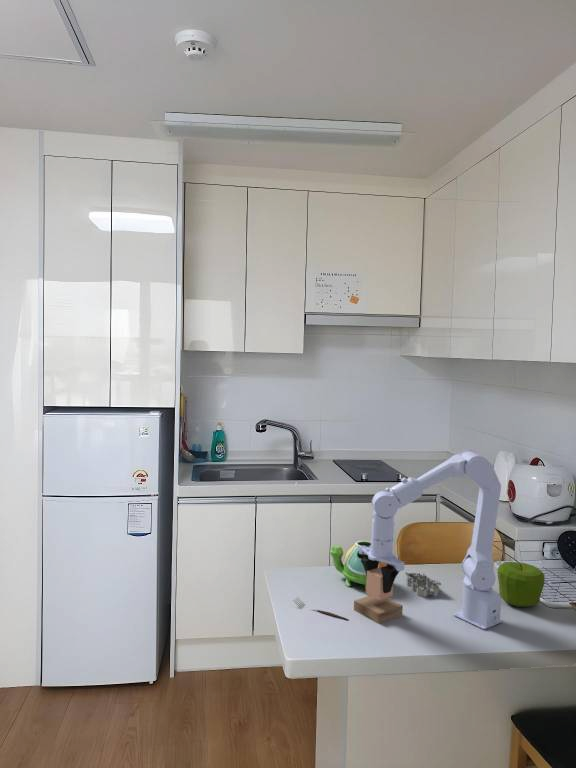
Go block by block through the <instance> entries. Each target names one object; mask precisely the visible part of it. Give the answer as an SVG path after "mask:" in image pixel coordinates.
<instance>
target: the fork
mask: <svg viewBox="0 0 576 768" xmlns="http://www.w3.org/2000/svg"><path fill="white" fill-rule="evenodd" d="M292 601H293V602H294V603H295V604H296V605H297V607H299V608H300V609H301V610H303V609H304V608H305V607H304V606H305V605H306V604H305V603H304V602H303V601H302V600H301V599H300V598H299V597H298V596H297V597H295V599H294V600H292ZM302 608H303V609H302ZM309 611H314V612H317V613H320V614H323V615H326V616H329V617H332V618H335V619H336V618H337V619H340V620H344V621H349V620H350V619H348V618H346V617H344V616H340V615H338V614H335V613H332V612H329V611H325V610H320V609H315V608H313V607H312V608H310V609H309Z"/></svg>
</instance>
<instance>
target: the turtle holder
mask: <svg viewBox="0 0 576 768" xmlns="http://www.w3.org/2000/svg"><path fill="white" fill-rule="evenodd" d="M360 546H367V547H371V541H368V540H358V541H356V542H355V543H354V544H353V546H352V547H350V548H349V549H348V550H347V552H346V553H345V557H344V560H342V557H343V556H344V551H343V547H342V546H341V545H332V547H331V549H330V551H329V553H330V555H331V557H332V562H333V565H334V568H335V569H336V571H338V572H339V573H341V574H342V575H343V576H344V577H345V586H346V587H349V588H350V587H352V582H354V583H356V584H357V583H358V584H361V585H364V589H365V590H366V579H367V576H366V572H365V569H364V566H363V564H362V562H361V558H364V557H365V555H364V554H359V547H360ZM384 566H387V564H384V563H382V562H379V565H378V568H380V567H384Z"/></svg>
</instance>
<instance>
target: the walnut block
mask: <svg viewBox="0 0 576 768" xmlns="http://www.w3.org/2000/svg"><path fill="white" fill-rule="evenodd" d="M403 608H404V606H403V604H400V603H399V602H397V601H395V600H392V599H390V597H387V598H384V599H381V600H378V599H376V598H374V597H373V596H371V595H368V596H365V597H364V596H363V597H362V598H361V597H360V598H359V599H355V600H354V601H353V611H355V612H356V613H358V614H360V615H362V616H364V617H365V618H367V619H369V620H371V621H373V622H374V623H376V624H381V623H385V622H388V621H391V620H393V619H395V618H398V617H401V616H403V610H404V609H403Z"/></svg>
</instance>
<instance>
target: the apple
mask: <svg viewBox="0 0 576 768" xmlns="http://www.w3.org/2000/svg"><path fill="white" fill-rule="evenodd" d="M497 579H498V586H499V587H498V589H499V592H498V593H499V594H500V596H501V600H503V601H505V603H507V604H508V605H511V606H514V607H520V608H529V607H532V606H535V605H538V604H540V601H541V600H540V599H541V597H542V592H543V589H544V585H545V574H544V572H543V571H542V570H540V568H538V567H537V566H535V565H532V564H529V563H525V562H519V561H518V562H515V561H504V562H503V563H501V564H500V565H499V566H498V568H497Z"/></svg>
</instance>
